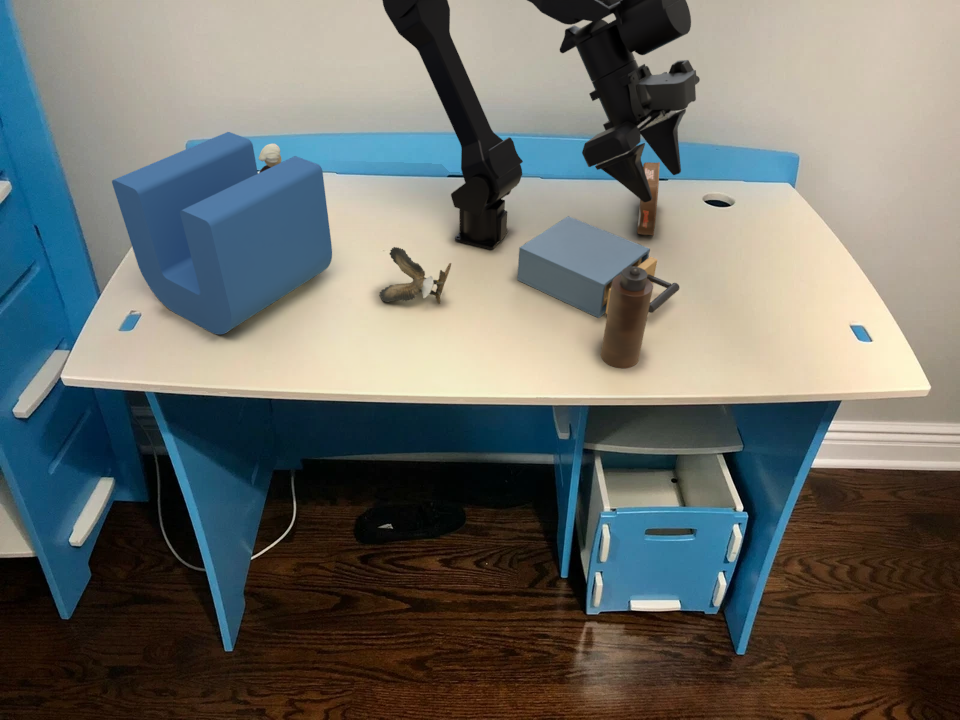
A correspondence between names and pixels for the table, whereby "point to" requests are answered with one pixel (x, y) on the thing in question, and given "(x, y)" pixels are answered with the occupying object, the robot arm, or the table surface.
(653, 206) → the tin
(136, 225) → the block
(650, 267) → the drawer
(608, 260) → the cabinet
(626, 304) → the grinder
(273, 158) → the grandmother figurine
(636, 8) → the robot arm
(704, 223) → the table surface
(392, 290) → the eagle figurine
